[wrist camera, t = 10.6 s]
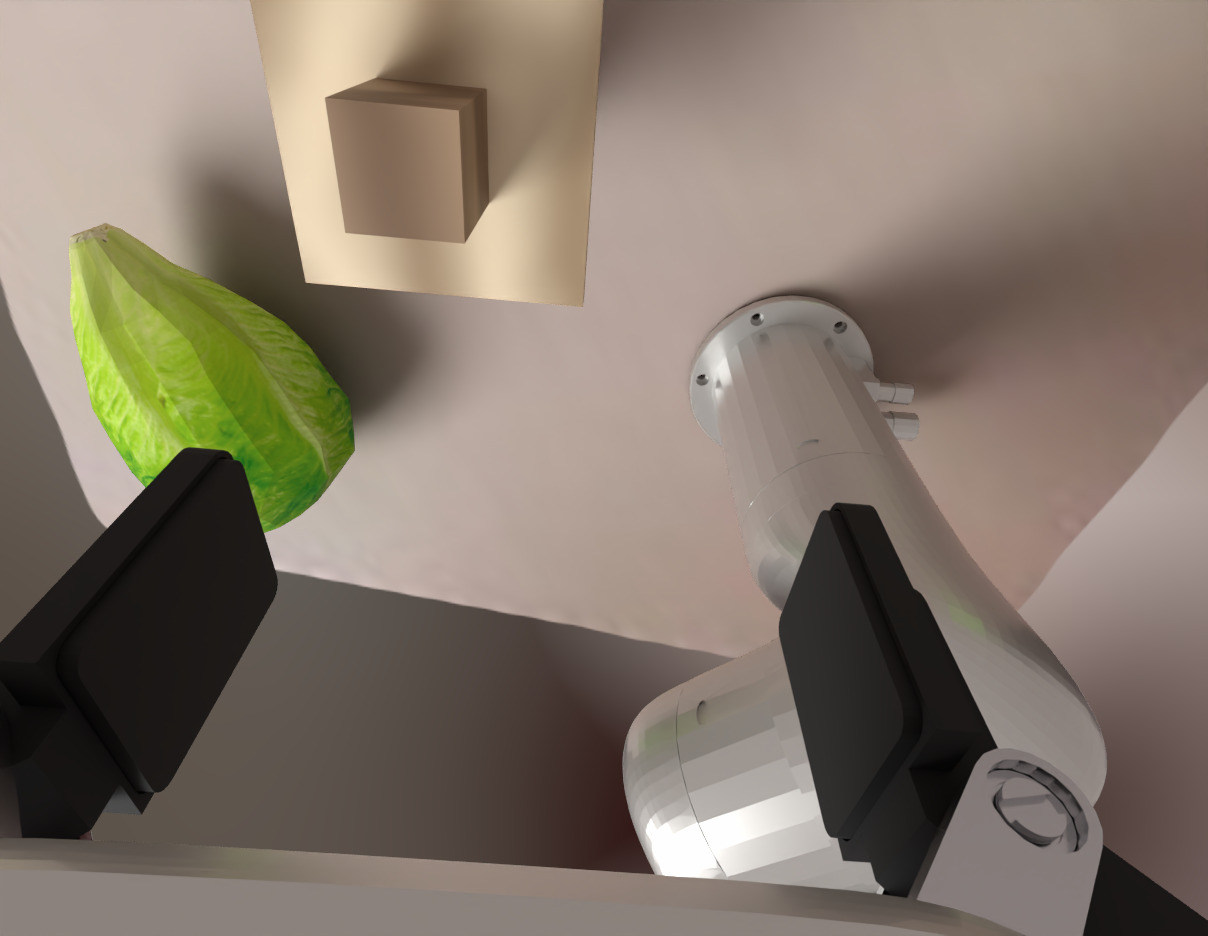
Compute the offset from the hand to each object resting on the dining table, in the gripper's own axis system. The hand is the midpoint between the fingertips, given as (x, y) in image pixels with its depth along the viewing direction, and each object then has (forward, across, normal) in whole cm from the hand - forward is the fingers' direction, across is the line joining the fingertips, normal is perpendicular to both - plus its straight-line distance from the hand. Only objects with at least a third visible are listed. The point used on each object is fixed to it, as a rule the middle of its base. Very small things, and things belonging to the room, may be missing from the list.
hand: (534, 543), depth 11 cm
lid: (+20, +6, -2) cm, 21 cm away
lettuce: (+34, +23, +15) cm, 43 cm away
